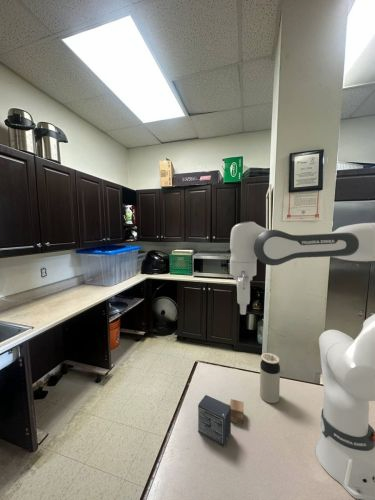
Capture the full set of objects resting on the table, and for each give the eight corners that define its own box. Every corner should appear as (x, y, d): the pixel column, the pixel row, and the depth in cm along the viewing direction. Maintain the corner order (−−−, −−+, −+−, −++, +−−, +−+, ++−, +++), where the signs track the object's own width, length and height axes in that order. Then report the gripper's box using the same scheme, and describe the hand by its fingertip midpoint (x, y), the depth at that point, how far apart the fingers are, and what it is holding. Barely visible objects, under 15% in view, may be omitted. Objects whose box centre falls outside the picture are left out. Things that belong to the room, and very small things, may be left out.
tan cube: (243, 413, 84) (243, 401, 83) (242, 424, 79) (242, 411, 79) (230, 410, 85) (230, 398, 85) (229, 420, 80) (229, 408, 80)
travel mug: (269, 406, 87) (270, 365, 86) (256, 393, 94) (256, 355, 93) (283, 400, 90) (284, 360, 89) (269, 388, 98) (269, 350, 96)
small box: (231, 432, 76) (232, 405, 75) (224, 448, 70) (225, 418, 69) (205, 419, 81) (205, 393, 81) (197, 432, 76) (197, 404, 75)
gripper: (255, 275, 61) (254, 321, 62) (250, 265, 81) (250, 300, 81) (233, 274, 62) (232, 319, 63) (233, 265, 82) (233, 299, 83)
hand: (242, 308), depth 72 cm, fingers open, 8 cm apart
